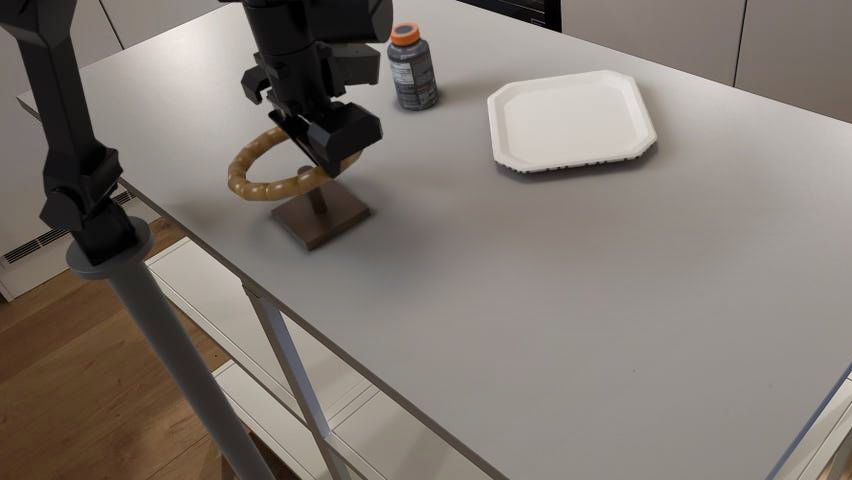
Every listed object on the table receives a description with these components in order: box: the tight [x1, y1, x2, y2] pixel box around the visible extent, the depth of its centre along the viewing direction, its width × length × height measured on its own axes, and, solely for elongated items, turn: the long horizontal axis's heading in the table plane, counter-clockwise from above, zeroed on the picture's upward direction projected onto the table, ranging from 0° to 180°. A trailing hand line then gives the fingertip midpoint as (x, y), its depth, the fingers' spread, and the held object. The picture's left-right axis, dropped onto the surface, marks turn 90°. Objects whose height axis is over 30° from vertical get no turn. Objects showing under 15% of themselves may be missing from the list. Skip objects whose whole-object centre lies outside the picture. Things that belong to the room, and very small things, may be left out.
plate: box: [486, 69, 658, 174], centre depth 100 cm, size 21×21×2 cm
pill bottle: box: [386, 22, 439, 111], centre depth 107 cm, size 6×6×11 cm
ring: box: [227, 125, 365, 202], centre depth 88 cm, size 17×17×2 cm
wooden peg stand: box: [270, 164, 371, 252], centre depth 92 cm, size 9×9×7 cm
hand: (329, 171), depth 82 cm, fingers closed on ring, 2 cm apart
